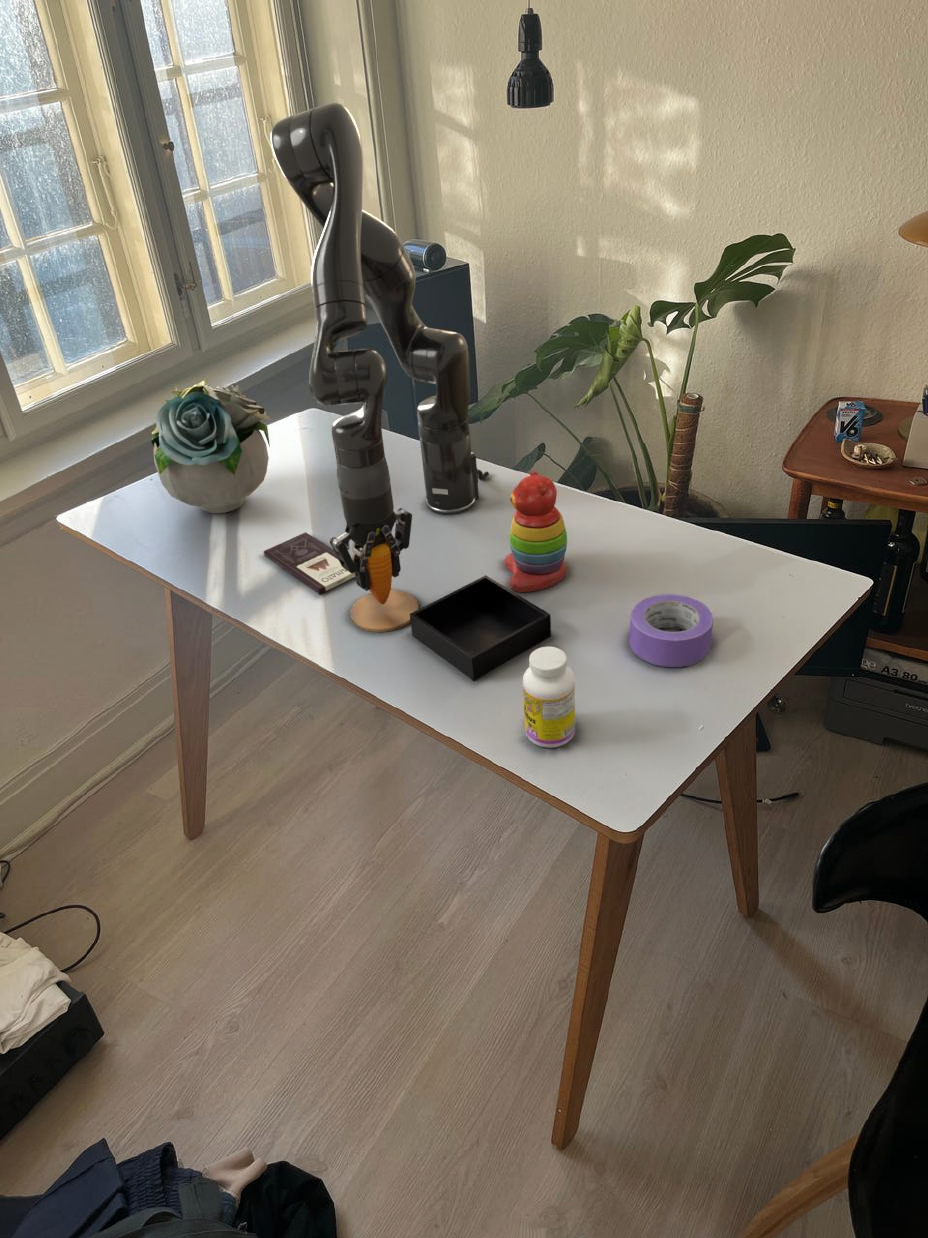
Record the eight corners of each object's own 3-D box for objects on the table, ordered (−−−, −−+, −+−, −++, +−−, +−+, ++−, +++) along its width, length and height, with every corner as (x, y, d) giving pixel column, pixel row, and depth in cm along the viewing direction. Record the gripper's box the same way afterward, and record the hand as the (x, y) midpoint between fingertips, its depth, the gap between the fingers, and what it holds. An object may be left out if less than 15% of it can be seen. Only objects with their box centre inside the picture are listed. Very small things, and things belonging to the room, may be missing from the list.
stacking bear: (503, 559, 158) (497, 466, 147) (560, 552, 158) (559, 459, 148) (511, 594, 149) (506, 497, 139) (573, 587, 149) (572, 490, 139)
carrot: (374, 616, 144) (361, 534, 136) (362, 601, 148) (349, 520, 139) (403, 606, 146) (392, 524, 137) (390, 591, 150) (379, 511, 141)
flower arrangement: (311, 488, 185) (289, 372, 171) (223, 547, 168) (190, 423, 154) (223, 466, 197) (195, 355, 182) (133, 519, 180) (94, 401, 166)
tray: (487, 596, 149) (485, 574, 147) (551, 636, 139) (550, 614, 137) (412, 635, 142) (409, 613, 139) (473, 681, 132) (471, 658, 129)
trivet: (393, 584, 154) (392, 582, 154) (432, 612, 147) (432, 608, 146) (337, 611, 149) (337, 608, 148) (375, 641, 142) (375, 638, 141)
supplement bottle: (522, 719, 125) (518, 644, 117) (570, 713, 125) (569, 638, 117) (529, 753, 119) (525, 677, 112) (579, 747, 119) (579, 671, 112)
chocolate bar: (305, 532, 169) (362, 568, 157) (306, 536, 169) (362, 572, 158) (263, 551, 164) (318, 589, 152) (264, 555, 165) (319, 594, 153)
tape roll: (646, 612, 142) (648, 585, 139) (721, 631, 137) (724, 604, 134) (617, 655, 134) (618, 627, 131) (694, 677, 129) (697, 648, 126)
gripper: (337, 511, 129) (354, 610, 139) (419, 476, 135) (430, 573, 145) (310, 493, 134) (328, 590, 144) (390, 461, 140) (402, 555, 150)
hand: (379, 581), depth 144 cm, fingers closed on carrot, 4 cm apart
